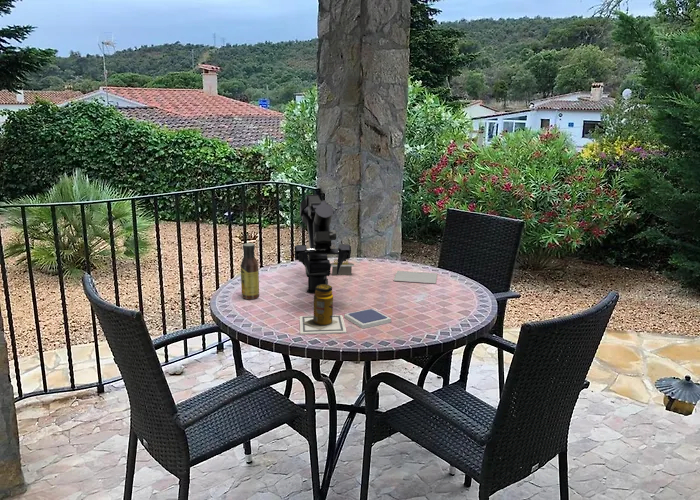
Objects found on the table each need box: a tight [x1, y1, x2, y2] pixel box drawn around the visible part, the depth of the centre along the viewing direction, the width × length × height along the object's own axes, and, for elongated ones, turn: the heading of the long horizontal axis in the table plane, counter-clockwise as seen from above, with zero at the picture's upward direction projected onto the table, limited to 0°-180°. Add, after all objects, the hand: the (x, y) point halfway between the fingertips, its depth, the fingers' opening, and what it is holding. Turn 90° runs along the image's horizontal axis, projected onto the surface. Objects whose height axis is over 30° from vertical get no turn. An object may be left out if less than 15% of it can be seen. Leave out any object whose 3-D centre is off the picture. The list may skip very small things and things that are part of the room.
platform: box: [330, 259, 355, 276], centre depth 226 cm, size 12×18×7 cm, turn 94°
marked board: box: [299, 314, 347, 336], centre depth 173 cm, size 14×14×1 cm
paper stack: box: [393, 270, 438, 284], centre depth 220 cm, size 23×25×1 cm
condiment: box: [303, 284, 337, 330], centre depth 172 cm, size 7×8×12 cm
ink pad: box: [343, 308, 392, 330], centre depth 178 cm, size 11×11×2 cm
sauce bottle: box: [240, 242, 260, 300], centre depth 196 cm, size 6×6×20 cm
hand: (323, 274), depth 180 cm, fingers open, 9 cm apart
